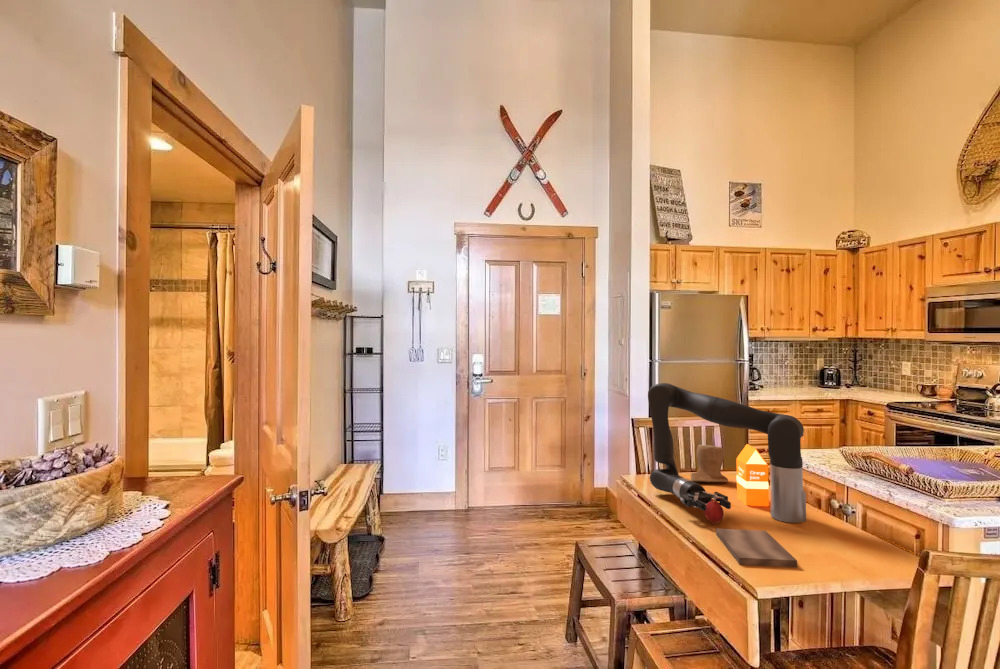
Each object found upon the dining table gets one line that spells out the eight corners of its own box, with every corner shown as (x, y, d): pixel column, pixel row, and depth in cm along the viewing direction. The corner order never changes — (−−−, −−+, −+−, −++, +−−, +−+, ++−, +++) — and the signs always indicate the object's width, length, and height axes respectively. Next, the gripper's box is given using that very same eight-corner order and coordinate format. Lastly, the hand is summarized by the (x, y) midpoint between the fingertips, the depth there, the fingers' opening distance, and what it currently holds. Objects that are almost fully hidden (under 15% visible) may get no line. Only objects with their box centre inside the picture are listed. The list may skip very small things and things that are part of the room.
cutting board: (765, 536, 145) (765, 530, 145) (797, 567, 125) (797, 560, 125) (716, 534, 147) (715, 528, 147) (739, 564, 127) (739, 557, 127)
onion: (707, 519, 159) (707, 494, 160) (726, 523, 156) (725, 498, 156) (701, 524, 155) (701, 499, 155) (721, 528, 151) (720, 502, 151)
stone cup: (721, 477, 208) (720, 442, 209) (731, 485, 197) (730, 448, 197) (684, 476, 210) (684, 441, 210) (692, 484, 198) (691, 447, 199)
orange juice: (758, 498, 180) (757, 443, 181) (769, 506, 172) (768, 449, 172) (736, 497, 181) (735, 443, 182) (745, 505, 172) (745, 448, 173)
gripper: (669, 481, 168) (696, 496, 152) (707, 479, 171) (737, 493, 155) (669, 503, 168) (696, 520, 152) (707, 501, 171) (738, 517, 155)
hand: (717, 506), depth 154 cm, fingers open, 8 cm apart
